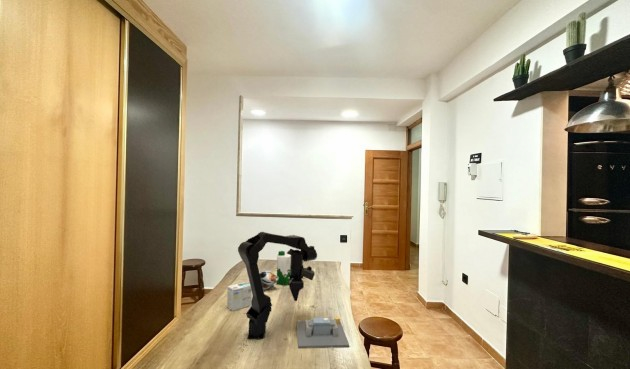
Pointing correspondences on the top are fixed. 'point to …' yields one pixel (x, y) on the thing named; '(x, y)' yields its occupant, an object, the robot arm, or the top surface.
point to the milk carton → (283, 268)
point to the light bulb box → (239, 296)
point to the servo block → (321, 325)
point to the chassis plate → (321, 336)
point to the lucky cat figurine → (268, 279)
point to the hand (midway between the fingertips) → (295, 296)
